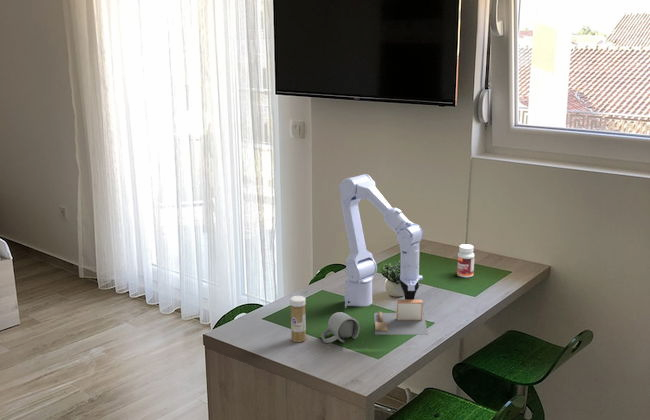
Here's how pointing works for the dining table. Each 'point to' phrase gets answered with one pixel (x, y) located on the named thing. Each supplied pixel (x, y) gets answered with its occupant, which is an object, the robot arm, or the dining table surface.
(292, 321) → the sprinkles bottle
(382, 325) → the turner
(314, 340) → the dining table surface
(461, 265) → the pill bottle
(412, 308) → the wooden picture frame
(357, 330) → the ceramic mug
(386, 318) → the mat
